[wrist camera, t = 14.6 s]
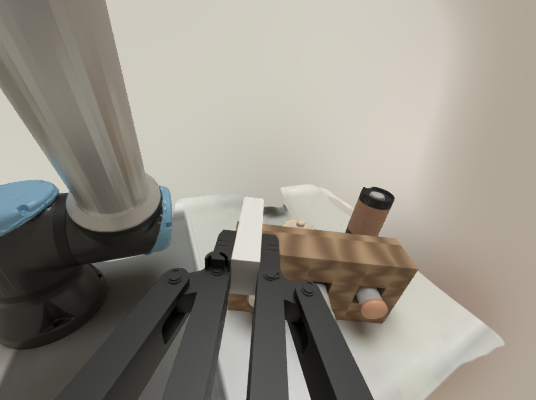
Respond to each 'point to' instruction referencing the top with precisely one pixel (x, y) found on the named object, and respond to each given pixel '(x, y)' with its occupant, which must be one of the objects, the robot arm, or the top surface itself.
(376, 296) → the terracotta button
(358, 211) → the travel mug
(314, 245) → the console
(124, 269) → the top surface
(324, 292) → the sage button
